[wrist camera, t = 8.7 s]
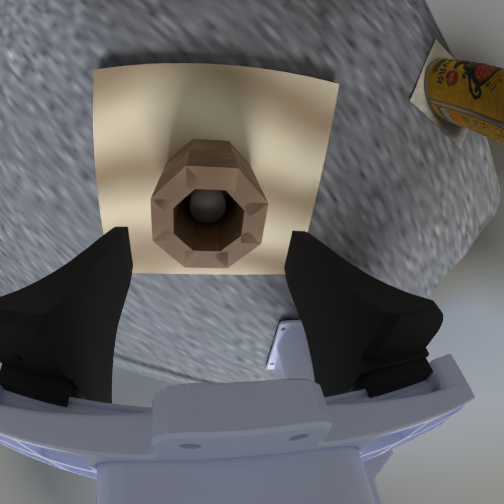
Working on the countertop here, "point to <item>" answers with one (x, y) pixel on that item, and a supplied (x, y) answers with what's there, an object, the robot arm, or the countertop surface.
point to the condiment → (461, 96)
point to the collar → (218, 232)
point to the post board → (210, 128)
